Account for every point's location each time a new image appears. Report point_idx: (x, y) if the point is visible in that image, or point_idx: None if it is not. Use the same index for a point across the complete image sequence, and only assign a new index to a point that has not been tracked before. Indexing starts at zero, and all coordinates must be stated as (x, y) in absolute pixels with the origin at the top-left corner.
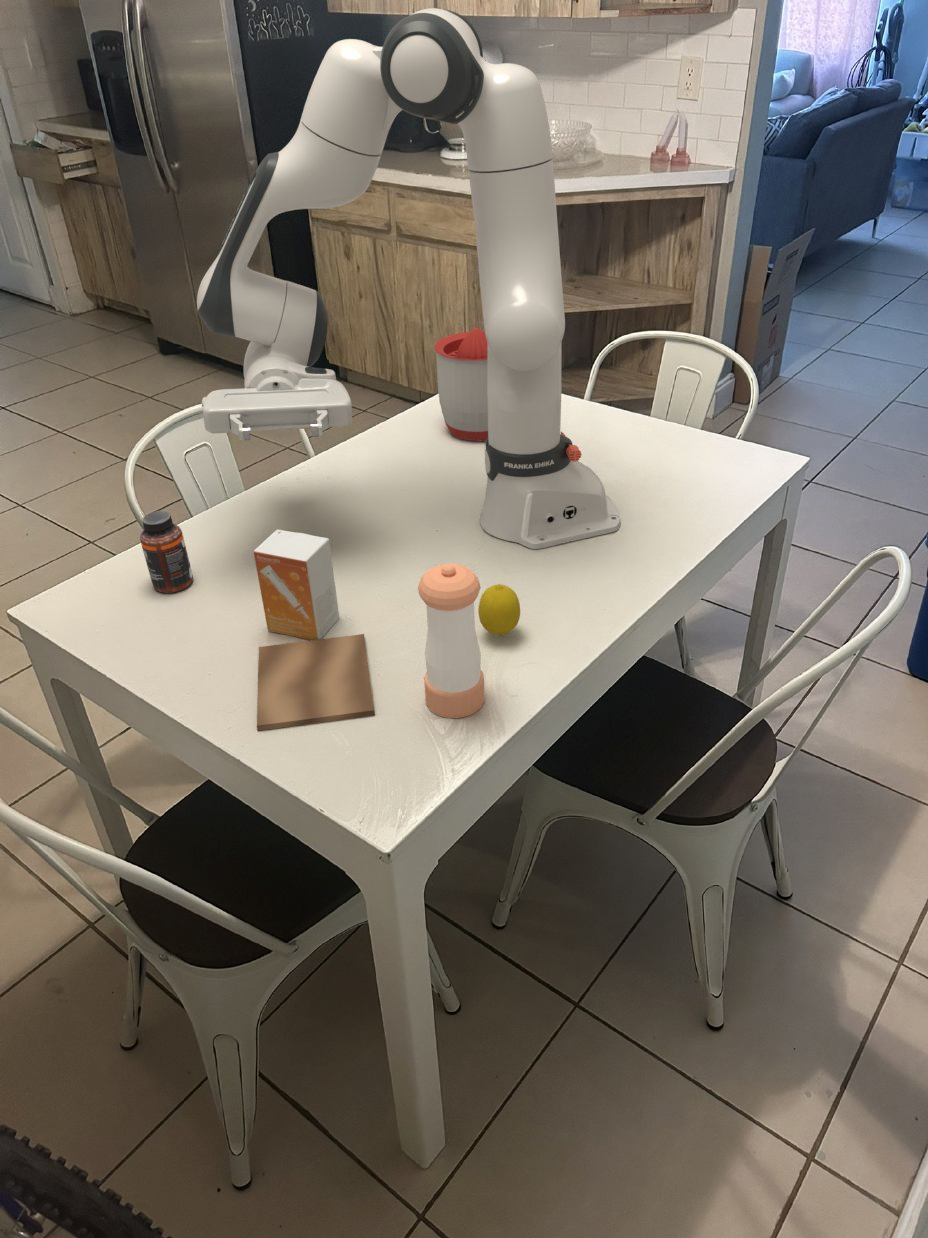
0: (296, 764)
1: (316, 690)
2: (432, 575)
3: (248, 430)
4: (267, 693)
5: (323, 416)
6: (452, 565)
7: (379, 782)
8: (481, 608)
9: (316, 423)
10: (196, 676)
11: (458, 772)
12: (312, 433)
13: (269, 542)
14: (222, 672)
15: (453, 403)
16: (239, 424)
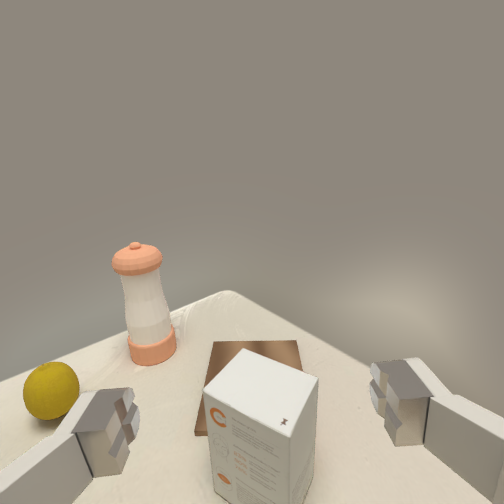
0: (268, 322)
1: None
2: (147, 248)
3: (377, 362)
4: (293, 365)
5: (9, 468)
6: (126, 252)
7: (224, 309)
8: (73, 378)
9: (97, 400)
10: (372, 407)
11: (182, 309)
12: (134, 407)
13: (297, 393)
14: (346, 408)
15: None
16: (441, 387)
